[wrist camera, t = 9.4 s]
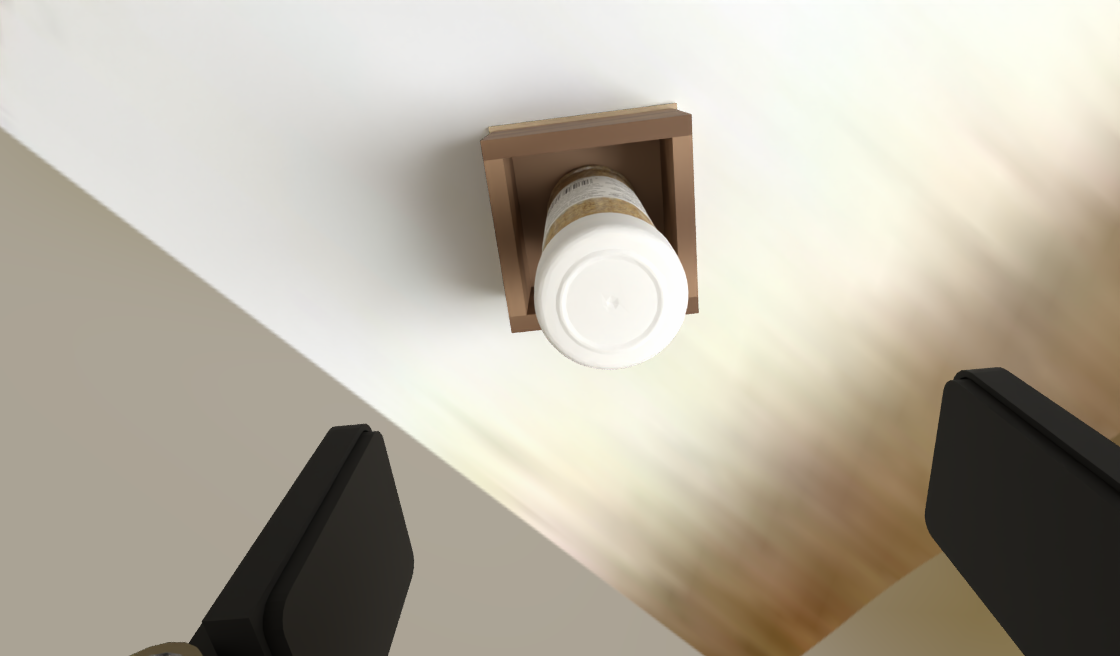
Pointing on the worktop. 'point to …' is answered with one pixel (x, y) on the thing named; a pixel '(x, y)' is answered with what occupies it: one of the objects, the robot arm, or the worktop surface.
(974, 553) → the robot arm
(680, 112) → the open wooden box
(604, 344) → the sprinkles bottle
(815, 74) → the worktop surface
